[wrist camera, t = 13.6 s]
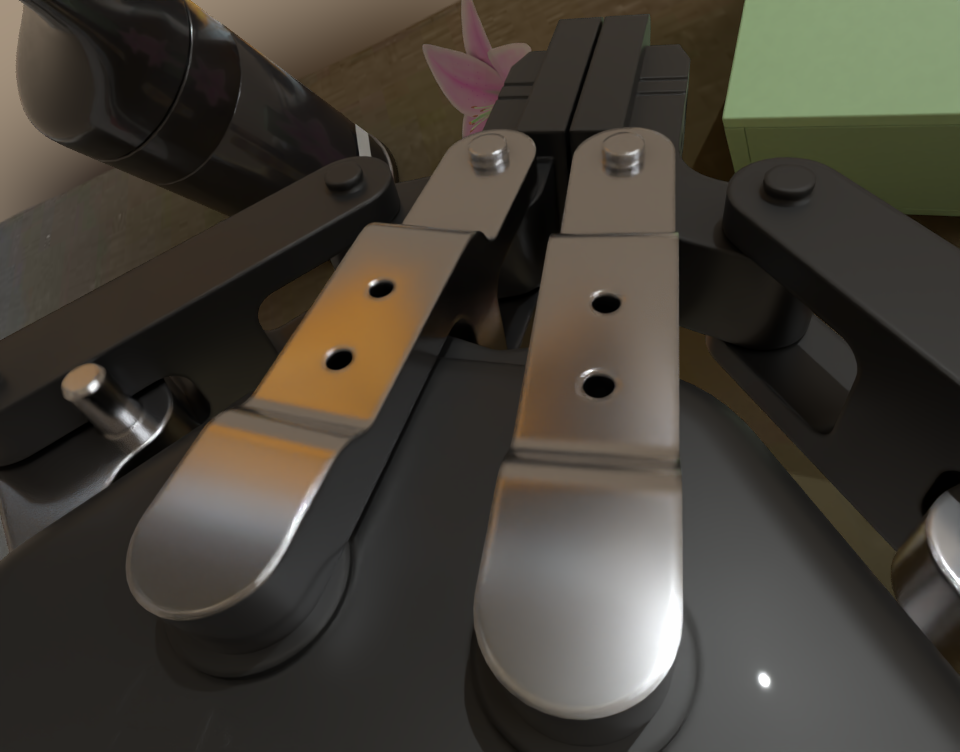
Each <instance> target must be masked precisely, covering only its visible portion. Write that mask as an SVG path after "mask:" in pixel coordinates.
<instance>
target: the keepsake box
mask: <svg viewBox="0 0 960 752" xmlns="http://www.w3.org/2000/svg"><path fill="white" fill-rule="evenodd" d="M724 130H725V134H726V138H727V142H728V146H729V150H730V154H731V159H732V163H733V167H734V171H735V173H736V172H737V171H739V170H740V169H741V168H743V167H745V166H747V165H749V164H751V163H754V162H757V161H760V160H764V159H769V158H777V157H794V158H803V159H809V160H812V161H816V162H819V163H822V164H825V165H827V166H829V167H831V168H833V169H834V170H836V171H838V172H839V173H841V174H842V175H844V176H845V177H847V178H849V179H850V180H852V181H853V182H855V183H856V184H858V185H860V186H861V187H863V188H864V189H866V190H867V191H869V192H871V193H872V194H874V195H875V196H877V197H879V198H880V199H882V200H883V201H885V202H886V203H888V204H890V205H891V206H893V207H894V208H896V209H897V210H899V211H901V212H902V213H904V214H914V215H939V216H960V124H941V125H872V126H803V127H735V128H726V127H724Z"/></svg>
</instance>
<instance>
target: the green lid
mask: <svg viewBox="0 0 960 752" xmlns="http://www.w3.org/2000/svg"><path fill="white" fill-rule="evenodd" d="M722 120H723V124H724V127H726V128H735V127H803V126H872V125H941V124H960V0H745V2H744V7H743V12H742V17H741V22H740V27H739V33H738V38H737V43H736V48H735V53H734V59H733V64H732V69H731V74H730V79H729V85H728V90H727V95H726V100H725V105H724V111H723V116H722Z"/></svg>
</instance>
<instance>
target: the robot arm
mask: <svg viewBox="0 0 960 752" xmlns="http://www.w3.org/2000/svg"><path fill="white" fill-rule="evenodd" d="M19 1H21V2H22V3H23V4H24V7H23V15H22V22H21V27H20V32H19V39H18V46H17V55H16V78H17V85H18V91H19V96H20V100H21V103H22V106H23V109H24V111H25V113H26V115H27V117H28V119H29V120H30V121H31V123H32V124H33V125H34V126H35V127H36V128H37V129H38V130H39V131H40V132H41V133H42V134H44V135H45V136H46V137H48V138H50V139H51V140H53V141H55V142H57V143H59V144H61V145H63V146H66V147H67V148H70V149H72V150H75V151H77V152H79V153H82V154H84V155H86V156H89V157H91V158H93V159H96V160H98V161H100V162H103V163H105V164H107V165H110V166H112V167H114V168H117V169H119V170H121V171H124V172H126V173H128V174H131V175H133V176H135V177H138V178H140V179H142V180H145V181H148V182H150V183H152V184H155V185H157V186H159V187H162V188H164V189H166V190H169V191H171V192H173V193H176V194H178V195H180V196H183V197H185V198H187V199H190V200H192V201H194V202H197V203H199V204H201V205H204V206H206V207H208V208H211V209H213V210H215V211H218V212H220V213H222V214H225V215H227V216H229V218H227V219H225V220H224V221H222V222H220V223H218V224H216V225H214V226H212V227H210V228H209V229H207V230H205V231H203V232H201V233H199V234H197V235H196V236H194V237H192V238H190V239H188V240H186V241H184V242H183V243H181V244H179V245H177V246H175V247H173V248H171V249H169V250H168V251H166V252H164V253H162V254H160V255H158V256H156V257H155V258H153V259H151V260H149V261H147V262H145V263H143V264H142V265H140V266H138V267H136V268H134V269H132V270H130V271H129V272H127V273H125V274H123V275H121V276H119V277H117V278H115V279H114V280H112V281H110V282H108V283H106V284H104V285H102V286H101V287H99V288H97V289H95V290H93V291H91V292H89V293H88V294H86V295H84V296H82V297H80V298H78V299H76V300H74V301H73V302H71V303H69V304H67V305H65V306H63V307H61V308H60V309H58V310H56V311H54V312H52V313H50V314H48V315H47V316H45V317H43V318H41V319H39V320H37V321H35V322H34V323H32V324H30V325H28V326H26V327H24V328H22V329H20V330H19V331H17V332H15V333H13V334H11V335H9V336H7V337H6V338H4V339H2V340H0V515H1V520H2V524H3V528H4V532H5V536H6V541H7V545H8V549H9V554H8V555H7V556H6V557H4V558H3V559H2V560H1V561H0V752H960V249H959V248H957V247H956V246H954V245H952V244H951V243H949V242H948V241H946V240H945V239H943V238H941V237H940V236H938V235H937V234H935V233H934V232H932V231H930V230H929V229H927V228H926V227H924V226H923V225H921V224H919V223H918V222H916V221H915V220H913V219H912V218H910V217H908V216H907V215H905V214H904V213H902V212H901V211H899V210H897V209H896V208H894V207H893V206H891V205H890V204H888V203H886V202H885V201H883V200H882V199H880V198H879V197H877V196H875V195H874V194H872V193H871V192H869V191H867V190H866V189H864V188H863V187H861V186H860V185H858V184H856V183H855V182H853V181H852V180H850V179H849V178H847V177H845V176H844V175H842V174H841V173H839V172H838V171H836V170H834V169H833V168H831V167H829V166H827V165H825V164H822V163H819V162H816V161H812V160H809V159H803V158H794V157H777V158H769V159H764V160H760V161H757V162H754V163H751V164H749V165H747V166H745V167H743V168H741V169H740V170H739V171H737V172H736V173H735V174H734V175H733V176H732V177H731V179H730V181H729V182H726V181H721V180H717V179H713V178H710V177H707V176H704V175H702V174H700V173H698V172H696V171H694V170H693V169H691V168H690V167H689V166H688V165H687V164H686V163H685V162H684V161H683V159H682V152H683V144H684V133H685V120H686V108H687V95H688V83H689V71H690V58H689V57H688V55H687V54H686V53H685V51H684V50H683V49H682V47H681V46H680V45H679V44H675V45H654V46H650V14H641V15H625V16H609V17H605V19H603V17H595V18H578V19H562V20H559V22H558V24H557V27H556V29H555V32H554V34H553V37H552V39H551V42H550V44H549V46H548V49H547V51H533V52H529V53H527V54H526V55H525V56H524V57H523V58H521V59H520V60H519V61H518V62H517V63H515V64H514V65H513V66H512V67H511V69H510V71H509V73H508V75H507V78H506V80H505V82H504V87H502V89H501V91H500V93H499V95H498V100H496V102H495V104H494V106H493V108H492V111H491V113H490V115H489V117H488V119H487V122H486V124H485V126H484V128H483V130H482V131H480V132H477V133H474V134H471V135H469V136H466V137H464V138H462V139H461V140H459V141H457V142H456V143H455V144H453V145H452V146H451V147H450V148H449V149H448V151H447V152H446V153H445V155H444V157H443V158H442V160H441V161H440V163H439V165H438V166H437V168H436V169H435V171H434V173H433V174H432V176H429V177H425V178H420V179H415V180H410V181H405V182H400V183H399V177H398V170H397V166H396V163H395V160H394V158H393V156H392V154H391V152H390V151H389V150H388V148H387V147H386V146H385V145H384V144H383V143H382V142H380V141H379V140H378V139H376V138H375V137H374V136H372V135H371V134H369V133H367V132H365V131H364V130H363V129H361V128H360V127H359V126H357V125H356V124H354V123H353V122H351V121H350V120H349V119H348V118H347V117H345V116H344V115H343V114H341V113H340V112H339V111H337V110H336V109H335V108H333V107H332V106H331V105H329V104H328V103H327V102H325V101H324V100H323V99H321V98H320V97H319V96H317V95H316V94H315V93H313V92H312V91H311V90H309V89H308V88H307V87H305V86H304V85H303V84H301V83H300V82H299V81H297V80H296V79H294V78H293V77H292V76H291V75H289V74H288V73H287V72H285V71H284V70H283V69H281V68H280V67H278V65H276V64H275V63H274V62H272V61H271V60H270V59H268V58H267V57H265V56H264V55H263V54H262V53H260V52H259V51H258V50H256V49H255V48H253V47H252V46H251V45H250V44H248V43H247V42H246V41H244V40H243V39H242V38H240V37H239V36H238V35H236V34H235V33H234V32H232V31H231V30H230V29H228V28H227V27H226V26H224V25H223V24H221V23H220V22H219V21H217V20H216V19H214V18H213V17H212V16H211V15H209V14H208V13H207V12H205V11H204V10H203V9H201V8H200V7H199V6H197V5H196V4H195V3H193V2H192V1H191V0H19ZM327 260H331V262H332V264H333V267H334V269H335V271H334V273H333V274H332V276H331V277H330V279H329V280H328V282H327V283H326V285H325V286H324V288H323V289H322V291H321V292H320V294H319V295H318V297H317V298H316V300H315V301H314V303H313V304H312V306H311V307H310V309H309V310H308V311H306V312H304V313H303V314H301V315H299V316H298V317H296V318H294V319H293V320H291V321H289V322H288V323H286V324H284V325H283V326H281V327H279V328H277V329H275V330H270V331H265V330H263V328H262V326H261V325H260V323H259V320H258V310H259V307H260V305H261V303H262V302H263V300H264V299H265V298H266V297H267V296H268V295H270V294H271V293H273V292H274V291H276V290H278V289H280V288H281V287H283V286H285V285H286V284H288V283H290V282H291V281H293V280H295V279H297V278H298V277H300V276H302V275H303V274H305V273H307V272H309V271H310V270H312V269H314V268H315V267H317V266H319V265H321V264H322V263H324V262H326V261H327ZM813 312H814V313H815V314H816V315H817V316H818V317H820V318H821V319H822V320H823V321H824V322H825V323H827V324H828V325H829V326H830V327H831V328H832V329H834V330H835V331H836V332H837V333H838V334H840V335H841V336H842V337H843V338H844V339H845V340H844V339H843V338H841V337H840V336H839V335H838V334H837V333H835V332H834V331H833V330H832V329H831V328H830V327H828V326H827V325H826V324H825V323H824V322H823V321H821V320H820V319H819V318H818V317H817V316H816V315H814V314H813ZM679 326H681V327H684V328H687V329H690V330H693V331H696V332H699V333H702V334H705V335H706V336H705V342H706V346H707V349H708V351H709V353H710V354H711V356H712V357H713V358H714V359H715V360H716V361H717V362H718V364H719V365H720V366H721V367H722V368H723V369H724V370H725V371H726V372H727V373H728V374H729V375H730V376H731V377H732V378H733V379H734V380H735V381H736V383H737V384H738V385H739V386H740V387H741V388H742V389H743V390H744V391H745V392H746V393H747V394H748V395H749V396H750V397H751V398H752V399H753V401H754V402H755V403H756V404H757V405H758V406H759V407H760V408H761V409H762V410H763V411H764V412H765V413H766V414H767V415H768V416H769V417H770V419H771V420H772V421H773V422H774V423H775V424H776V425H777V426H778V427H779V428H780V429H781V430H782V431H783V432H784V433H785V434H786V435H787V437H788V438H789V439H790V440H791V441H792V442H793V443H794V444H795V445H796V446H797V447H798V448H799V449H800V450H801V451H802V452H803V453H804V454H805V456H806V457H807V458H808V459H809V460H810V461H811V462H812V463H813V464H814V465H815V466H816V467H817V468H818V469H819V470H820V471H821V472H822V474H823V475H824V476H825V477H826V478H827V479H828V480H829V481H830V482H831V483H832V484H833V485H834V486H835V487H836V488H837V489H838V490H839V492H840V493H841V494H842V495H843V496H844V497H845V498H846V499H847V500H848V501H849V502H850V503H851V504H852V505H853V506H854V507H855V508H856V510H857V511H858V512H859V513H860V514H861V515H862V516H863V517H864V518H865V519H866V520H867V521H868V522H869V523H870V524H871V525H872V526H873V527H874V529H875V530H876V531H877V532H878V533H879V534H880V535H881V536H882V537H883V538H884V539H885V540H886V541H887V542H888V543H889V544H890V545H891V547H892V548H893V549H894V550H895V551H896V554H895V556H894V558H893V562H892V565H891V582H892V588H893V591H894V594H895V597H896V599H897V601H898V602H897V601H896V600H895V599H894V597H893V596H892V595H891V594H890V593H889V592H888V590H887V589H886V588H885V587H884V586H883V584H882V583H881V582H880V581H879V580H878V578H877V577H876V576H875V575H874V574H873V573H872V571H871V570H870V569H869V568H868V567H867V565H866V564H865V563H864V562H863V561H862V560H861V558H860V557H859V556H858V555H857V554H856V552H855V551H854V550H853V549H852V548H851V546H850V545H849V544H848V543H847V542H846V541H845V539H844V538H843V537H842V536H841V535H840V533H839V532H838V531H837V530H836V529H835V528H834V526H833V525H832V524H831V523H830V522H829V520H828V519H827V518H826V517H825V516H824V514H823V513H822V512H821V511H820V510H819V509H818V507H817V506H816V505H815V504H814V503H813V501H812V500H811V499H810V498H809V497H808V496H807V494H806V493H805V492H804V491H803V490H802V488H801V487H800V486H799V485H798V484H797V482H796V481H795V480H794V479H793V478H792V477H791V475H790V474H789V473H788V472H787V471H786V469H785V468H784V467H783V466H782V465H781V464H780V462H779V461H778V460H777V459H776V458H775V456H774V455H773V454H772V453H771V452H770V450H769V449H768V448H767V447H766V446H765V445H764V443H763V442H762V441H761V440H760V439H759V437H758V436H757V435H756V434H755V433H754V432H753V431H752V429H751V428H750V427H749V426H748V425H747V424H746V423H745V422H744V421H743V420H742V419H741V418H740V417H739V416H737V415H736V414H735V413H734V412H733V411H732V410H731V409H730V408H729V407H727V406H726V405H725V404H723V403H722V402H721V401H719V400H718V399H716V398H715V397H714V396H712V395H711V394H709V393H707V392H705V391H703V390H702V389H700V388H698V387H696V386H695V385H692V384H690V383H688V382H685V381H683V380H681V379H679ZM169 376H171V377H169Z"/></svg>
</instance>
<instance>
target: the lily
mask: <svg viewBox="0 0 960 752" xmlns="http://www.w3.org/2000/svg"><path fill="white" fill-rule="evenodd" d="M462 31H463V39H464V46H465V50H466V53H467V54H465V53H462V52H459V51H455V50H451V49H446V48H441V47H438V46H434V45H429V44H423V47H422V48H423V52H424V56H425V58H426V61H427V63H428V65H429V67H430V69H431V71H432V73H433V75H434V77H435V79H436V81H437V83H438V85H439V86H440V88H441V90H442V91H443V93H444V94H445V96H446V97H447V98H448V100H449V101H450V102H451V104H452V105H453V106H454V107H455V108H457V109H458V110H459V111H460V112H461V113H463V114H465V115H464V119H463V130H462V135H463V138H464V137H466V136H469V135H471V134H474V133H477V132H480V131H482V130H483V128H484V126H485V124H486V122H487V119H488V117H489V115H490V113H491V111H492V108H493V106H494V104H495V102H496V100H498V95H499V93H500V91H501V89H502V87H504V82H505V80H506V78H507V75H508V73H509V71H510V69H511V67H512V66H513V65H514V64H515V63H517V62H518V61H519V60H520V59H521V58H523V57H524V56H525V55H526V54H527V53H529V52H531V47H530V46H528V45H527V44H526V43H513V44H508V45H504V46H500V47H497V48H494V49H492V48H491V45H490V43H489V41H488V38H487V36H486V34H485V31H484V29H483V26H482V24H481V21H480V19H479V16H478V14H477V11H476V9H475V6H474V4H473V1H472V0H462Z"/></svg>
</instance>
